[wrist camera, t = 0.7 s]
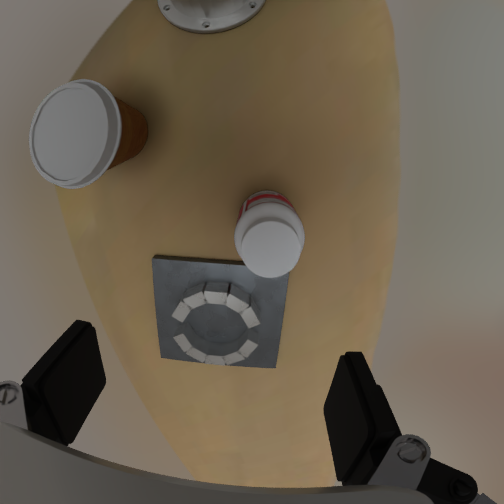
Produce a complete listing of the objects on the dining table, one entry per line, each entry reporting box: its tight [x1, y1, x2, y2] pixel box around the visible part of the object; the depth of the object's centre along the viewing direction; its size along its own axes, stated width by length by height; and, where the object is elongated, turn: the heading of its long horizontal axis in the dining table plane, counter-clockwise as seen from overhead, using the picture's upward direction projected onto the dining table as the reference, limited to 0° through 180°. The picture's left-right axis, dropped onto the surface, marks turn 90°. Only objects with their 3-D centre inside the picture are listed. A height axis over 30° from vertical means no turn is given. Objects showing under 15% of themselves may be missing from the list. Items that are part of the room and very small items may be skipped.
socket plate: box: [152, 255, 289, 368], centre depth 36 cm, size 15×16×4 cm
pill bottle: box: [234, 191, 305, 278], centre depth 29 cm, size 6×6×11 cm
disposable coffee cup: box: [29, 79, 148, 189], centre depth 25 cm, size 10×10×12 cm
